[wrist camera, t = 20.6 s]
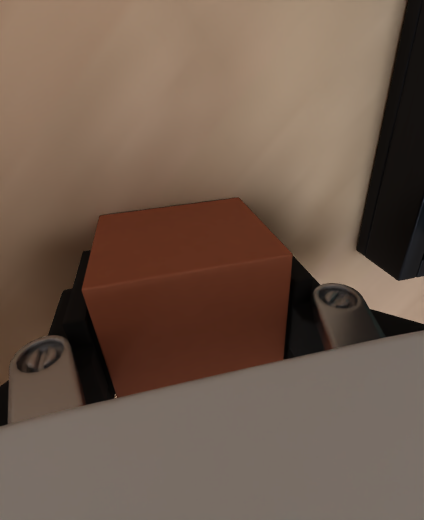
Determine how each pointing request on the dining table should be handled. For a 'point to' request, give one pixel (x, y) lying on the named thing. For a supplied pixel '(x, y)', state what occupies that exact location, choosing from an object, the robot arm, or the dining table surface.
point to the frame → (400, 164)
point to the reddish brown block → (186, 293)
